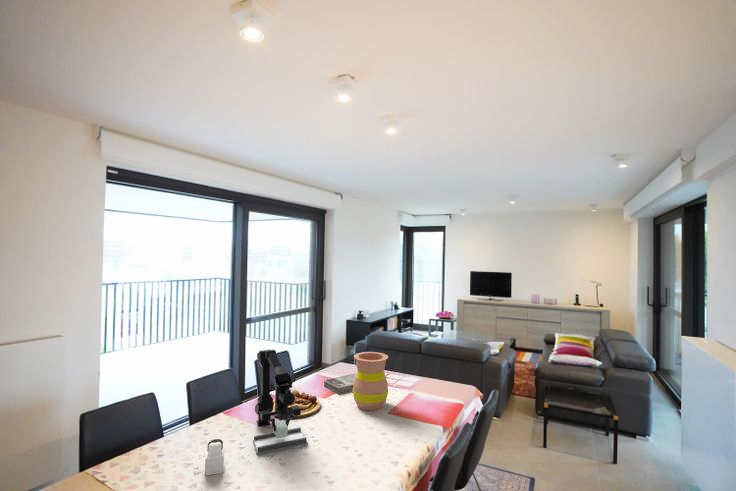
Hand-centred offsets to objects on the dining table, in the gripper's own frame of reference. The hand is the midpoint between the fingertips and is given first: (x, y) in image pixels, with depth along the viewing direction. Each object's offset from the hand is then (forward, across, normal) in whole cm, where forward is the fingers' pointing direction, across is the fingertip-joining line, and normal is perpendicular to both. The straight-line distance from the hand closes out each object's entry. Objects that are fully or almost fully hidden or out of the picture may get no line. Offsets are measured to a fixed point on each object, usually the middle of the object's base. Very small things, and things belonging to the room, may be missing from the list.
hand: (280, 430), depth 179 cm
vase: (+6, +60, +24) cm, 65 cm away
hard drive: (+7, +59, +60) cm, 84 cm away
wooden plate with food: (+7, +16, +39) cm, 43 cm away
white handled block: (+6, -30, -11) cm, 33 cm away
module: (+2, 0, 0) cm, 2 cm away
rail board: (+6, 0, 0) cm, 6 cm away
